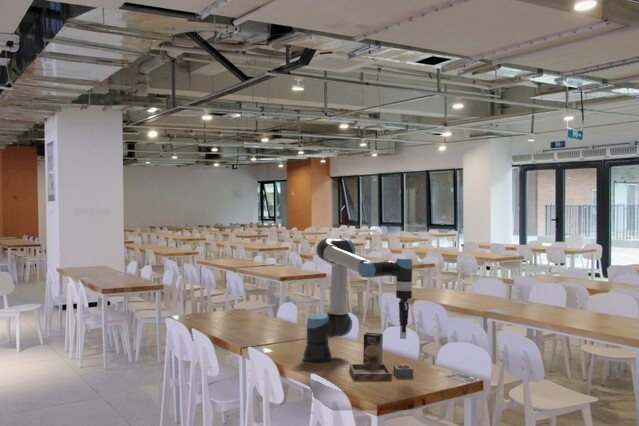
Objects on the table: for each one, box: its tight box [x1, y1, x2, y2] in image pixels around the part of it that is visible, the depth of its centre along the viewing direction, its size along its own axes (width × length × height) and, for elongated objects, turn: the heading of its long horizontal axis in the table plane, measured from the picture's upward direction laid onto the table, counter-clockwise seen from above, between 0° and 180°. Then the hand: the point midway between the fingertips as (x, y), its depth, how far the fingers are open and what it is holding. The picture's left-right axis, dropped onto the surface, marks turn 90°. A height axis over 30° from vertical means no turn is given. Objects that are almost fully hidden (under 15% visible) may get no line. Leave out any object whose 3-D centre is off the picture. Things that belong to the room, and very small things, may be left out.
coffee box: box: [362, 332, 384, 364], centre depth 305 cm, size 9×6×16 cm
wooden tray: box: [349, 363, 393, 381], centre depth 286 cm, size 18×18×3 cm
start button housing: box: [393, 364, 414, 379], centre depth 285 cm, size 8×8×4 cm
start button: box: [398, 363, 409, 368], centre depth 285 cm, size 4×4×3 cm
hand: (403, 338), depth 286 cm, fingers closed
